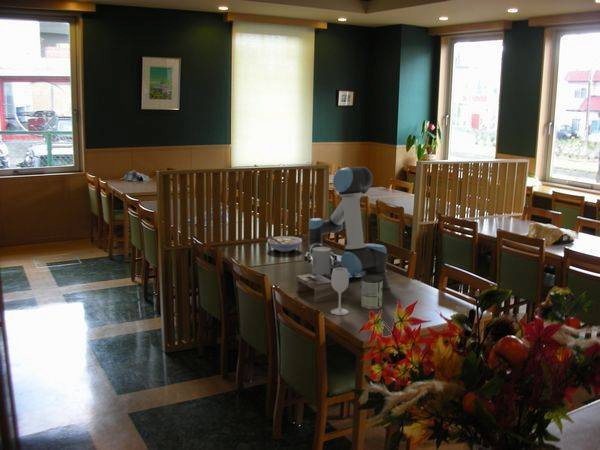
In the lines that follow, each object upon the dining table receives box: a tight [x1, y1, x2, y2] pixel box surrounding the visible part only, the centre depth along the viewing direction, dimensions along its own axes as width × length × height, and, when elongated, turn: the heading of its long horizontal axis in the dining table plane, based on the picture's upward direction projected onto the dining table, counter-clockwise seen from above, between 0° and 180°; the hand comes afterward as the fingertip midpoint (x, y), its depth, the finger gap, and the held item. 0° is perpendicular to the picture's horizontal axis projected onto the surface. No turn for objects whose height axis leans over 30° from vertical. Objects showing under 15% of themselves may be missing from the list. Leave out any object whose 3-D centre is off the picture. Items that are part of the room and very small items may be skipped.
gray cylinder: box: [311, 246, 332, 275], centre depth 323 cm, size 10×10×12 cm
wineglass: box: [329, 266, 350, 316], centre depth 296 cm, size 9×9×21 cm
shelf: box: [295, 273, 349, 303], centre depth 325 cm, size 22×18×8 cm
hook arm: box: [310, 275, 331, 284], centre depth 324 cm, size 15×6×2 cm, turn 27°
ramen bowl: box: [266, 235, 303, 253], centre depth 416 cm, size 25×23×8 cm
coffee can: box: [360, 275, 383, 310], centre depth 306 cm, size 10×10×14 cm
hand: (322, 262), depth 318 cm, fingers closed on gray cylinder, 9 cm apart
